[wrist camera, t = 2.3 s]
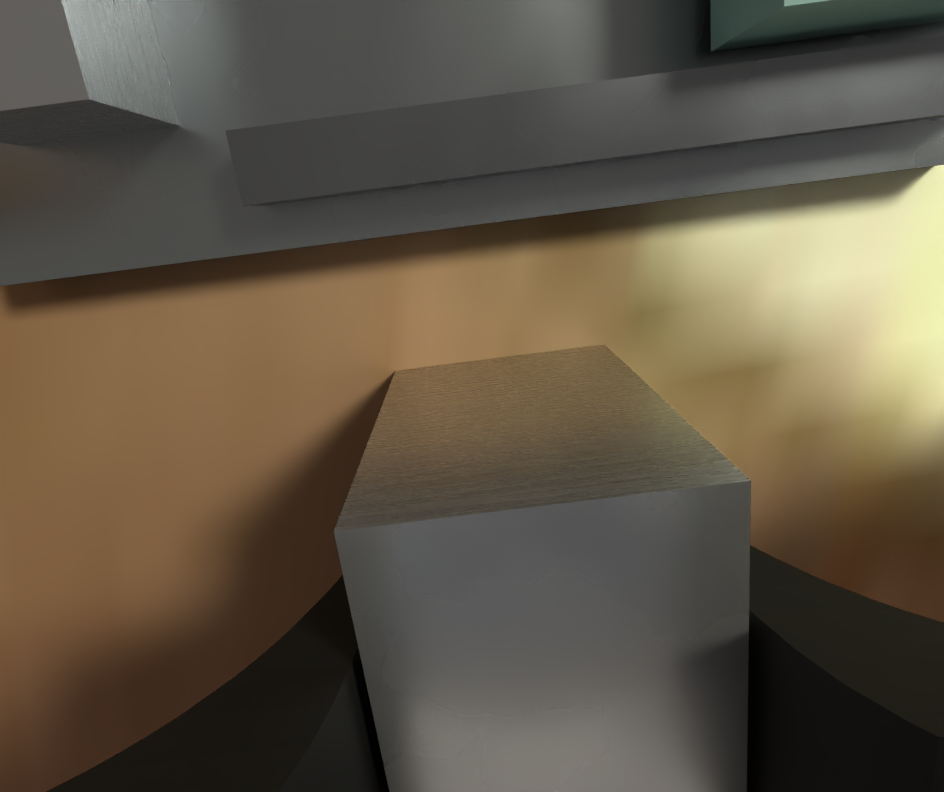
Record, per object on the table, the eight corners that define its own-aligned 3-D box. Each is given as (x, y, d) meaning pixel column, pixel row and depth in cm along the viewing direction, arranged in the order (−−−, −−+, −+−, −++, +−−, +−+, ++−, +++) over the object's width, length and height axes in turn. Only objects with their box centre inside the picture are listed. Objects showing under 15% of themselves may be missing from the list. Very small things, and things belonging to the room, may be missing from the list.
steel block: (605, 345, 12) (751, 480, 6) (623, 651, 14) (744, 975, 8) (395, 371, 12) (334, 531, 6) (445, 671, 14) (435, 1008, 8)
